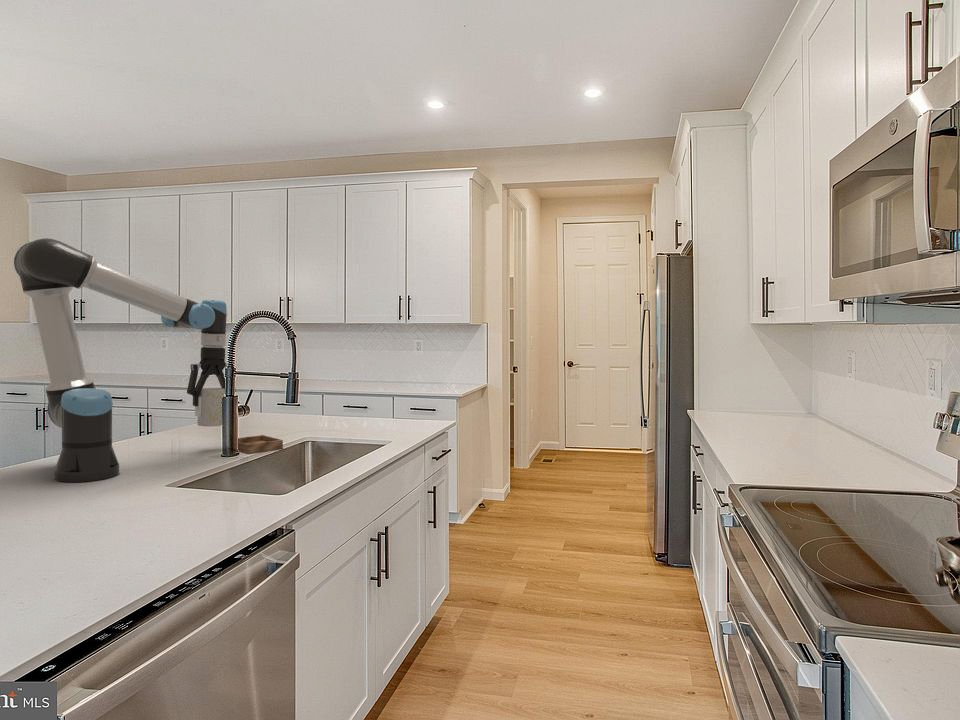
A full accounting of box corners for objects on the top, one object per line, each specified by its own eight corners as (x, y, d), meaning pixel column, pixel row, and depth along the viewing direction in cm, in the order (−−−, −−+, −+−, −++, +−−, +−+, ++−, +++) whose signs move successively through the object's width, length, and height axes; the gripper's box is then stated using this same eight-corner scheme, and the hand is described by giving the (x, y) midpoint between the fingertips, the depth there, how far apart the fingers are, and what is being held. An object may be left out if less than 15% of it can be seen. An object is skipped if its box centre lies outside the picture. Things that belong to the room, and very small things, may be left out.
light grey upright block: (205, 427, 200) (206, 390, 200) (192, 424, 205) (193, 388, 205) (228, 425, 207) (230, 389, 206) (215, 422, 212) (216, 387, 211)
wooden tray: (247, 454, 203) (247, 444, 203) (227, 448, 211) (227, 439, 211) (282, 448, 213) (282, 440, 213) (262, 443, 221) (262, 435, 221)
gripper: (186, 346, 195) (184, 418, 195) (248, 347, 211) (246, 414, 211) (175, 345, 200) (173, 415, 200) (237, 346, 215) (235, 411, 216)
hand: (211, 415), depth 206 cm, fingers closed on light grey upright block, 8 cm apart
